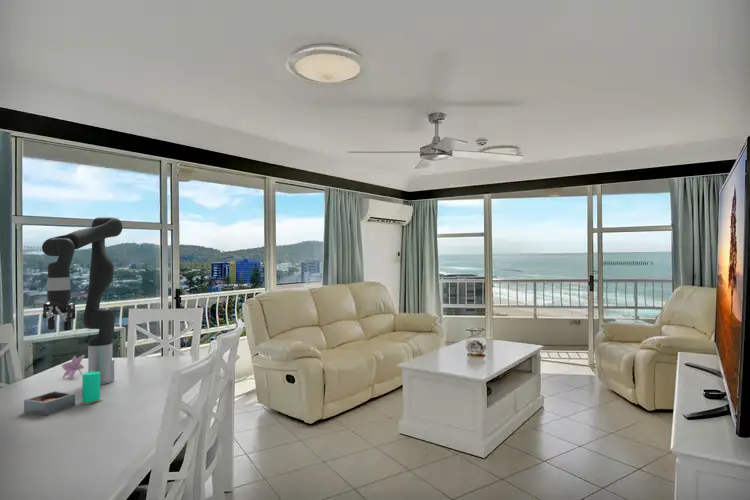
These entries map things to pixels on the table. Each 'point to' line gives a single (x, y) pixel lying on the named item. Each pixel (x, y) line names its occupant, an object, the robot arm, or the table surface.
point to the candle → (90, 386)
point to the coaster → (92, 402)
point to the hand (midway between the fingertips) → (59, 329)
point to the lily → (73, 366)
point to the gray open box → (49, 403)
